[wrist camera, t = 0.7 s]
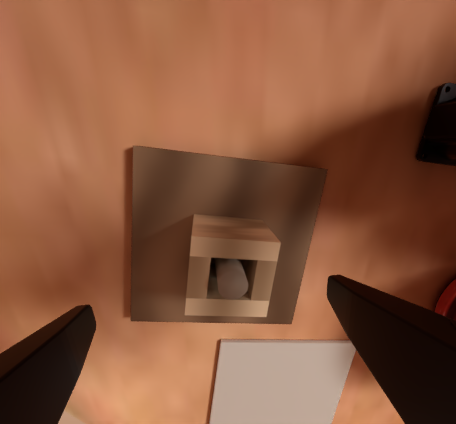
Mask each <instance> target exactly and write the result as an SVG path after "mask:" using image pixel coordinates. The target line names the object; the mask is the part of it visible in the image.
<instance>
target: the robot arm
mask: <svg viewBox="0 0 456 424" xmlns="http://www.w3.org/2000/svg"><path fill="white" fill-rule="evenodd" d="M445 89H446V91H445ZM423 154H424V156H423ZM416 159H417V160H418V161H422V162H429V163H437V164H444V165H451V166H456V84H454V83H445V84H442V85H441V86H440V87H439V88H438V91H437V94H436V97H435V100H434V103H433V106H432V109H431V112H430V115H429V118H428V121H427V124H426V127H425V130H424V134H423V137H422V140H421V143H420V146H419V149H418V152H417V155H416ZM327 298H328V300H329V302H330V304H331V306H332V308H333V310H334V312H335V314H336V316H337V317H338V319H339V321H340V323H341V325H342V327H343V329H344V331H345V332H346V334H347V336H348V338H349V339H350V341H351V342H352V344H353V345H354V347H355V348H356V350H357V351H358V353H359V355H360V356H361V358H362V359H363V361H364V362H365V364H366V365H367V367H368V368H369V370H370V371H371V373H372V374H373V376H374V377H375V379H376V380H377V382H378V383H379V385H380V386H381V388H382V389H383V391H384V392H385V394H386V396H387V397H388V399H389V400H390V402H391V403H392V405H393V406H394V408H395V409H396V411H397V412H398V414H399V415H400V417H401V418H402V420H403V421H404V423H405V424H456V320H454V319H451V318H447V317H446V316H443V315H441V314H438V313H436V312H433V311H431V310H428V309H426V308H423V307H420V306H418V305H415V304H413V303H410V302H408V301H405V300H403V299H400V298H398V297H395V296H392V295H390V294H387V293H385V292H382V291H380V290H377V289H375V288H372V287H370V286H367V285H365V284H362V283H359V282H357V281H354V280H352V279H349V278H347V277H344V276H342V275H332V276H329V277H328V284H327ZM95 330H96V321H95V317H94V314H93V310H92V307H91V306H90V305H80V306H76V307H75V308H73V309H71V310H70V311H68V312H67V313H65V314H63V315H62V316H60V317H59V318H57V319H55V320H54V321H52V322H50V323H49V324H47V325H46V326H44V327H42V328H41V329H39V330H38V331H36V332H34V333H33V334H31V335H30V336H28V337H26V338H25V339H23V340H22V341H20V342H18V343H17V344H15V345H14V346H12V347H10V348H9V349H7V350H5V351H4V352H2V353H1V354H0V424H58V422H59V420H60V418H61V416H62V413H63V411H64V409H65V407H66V405H67V402H68V400H69V398H70V396H71V394H72V391H73V389H74V387H75V385H76V382H77V380H78V378H79V376H80V373H81V370H82V368H83V365H84V362H85V359H86V356H87V353H88V351H89V348H90V345H91V342H92V339H93V336H94V333H95Z"/></svg>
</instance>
